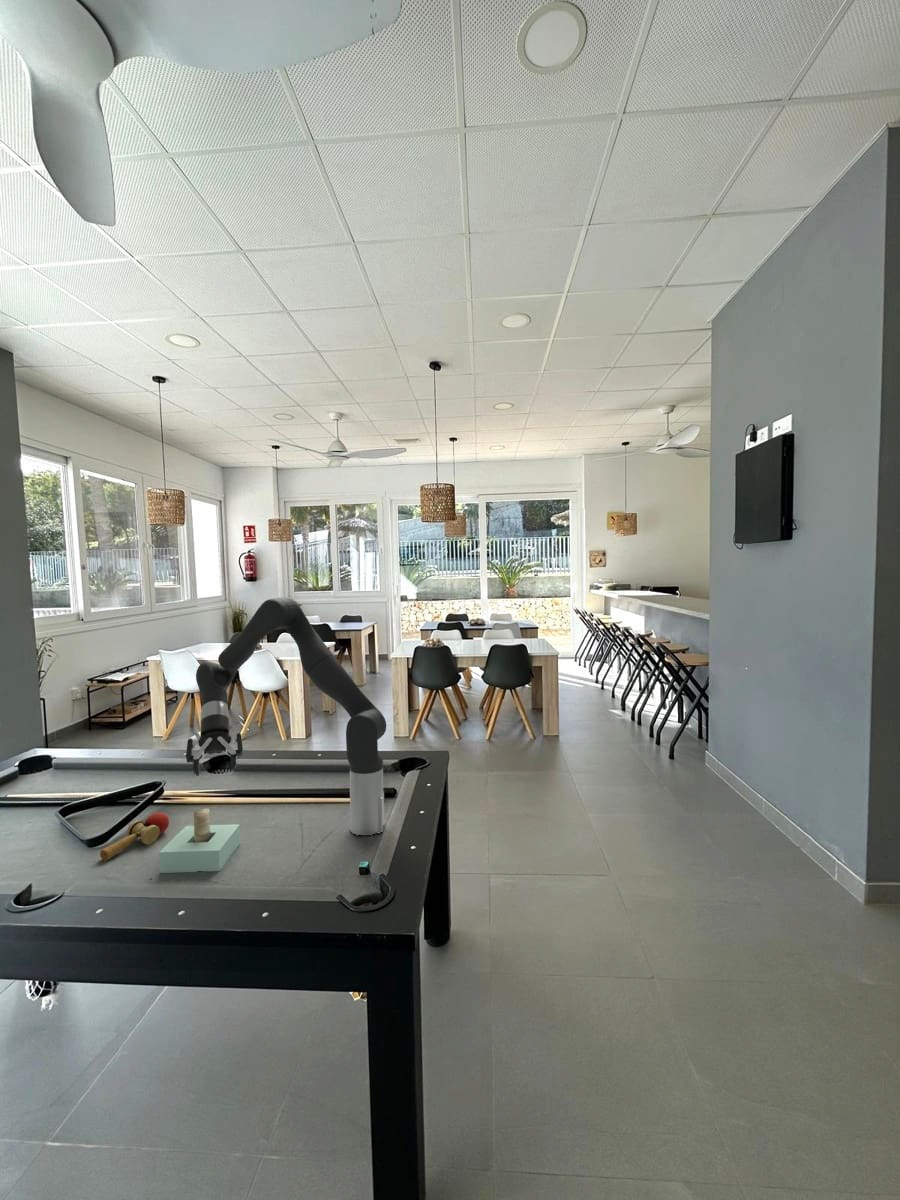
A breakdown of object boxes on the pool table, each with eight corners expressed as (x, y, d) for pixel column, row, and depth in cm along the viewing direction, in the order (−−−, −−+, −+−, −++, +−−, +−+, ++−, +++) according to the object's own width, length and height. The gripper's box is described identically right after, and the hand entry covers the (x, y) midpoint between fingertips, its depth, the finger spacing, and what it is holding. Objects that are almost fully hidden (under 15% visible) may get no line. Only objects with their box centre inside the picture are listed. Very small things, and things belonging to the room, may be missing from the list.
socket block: (240, 842, 138) (239, 824, 138) (219, 871, 124) (219, 850, 124) (186, 844, 137) (186, 825, 137) (159, 873, 123) (159, 852, 123)
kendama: (118, 868, 128) (178, 827, 145) (111, 845, 128) (172, 806, 144) (98, 868, 131) (159, 828, 148) (91, 845, 130) (153, 807, 147)
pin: (212, 846, 133) (211, 808, 133) (206, 854, 129) (206, 814, 129) (198, 847, 133) (197, 808, 132) (191, 854, 129) (191, 814, 129)
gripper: (186, 716, 145) (184, 769, 135) (241, 710, 151) (243, 761, 140) (188, 730, 150) (186, 782, 139) (241, 724, 156) (243, 774, 145)
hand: (215, 771), depth 140 cm, fingers open, 8 cm apart
